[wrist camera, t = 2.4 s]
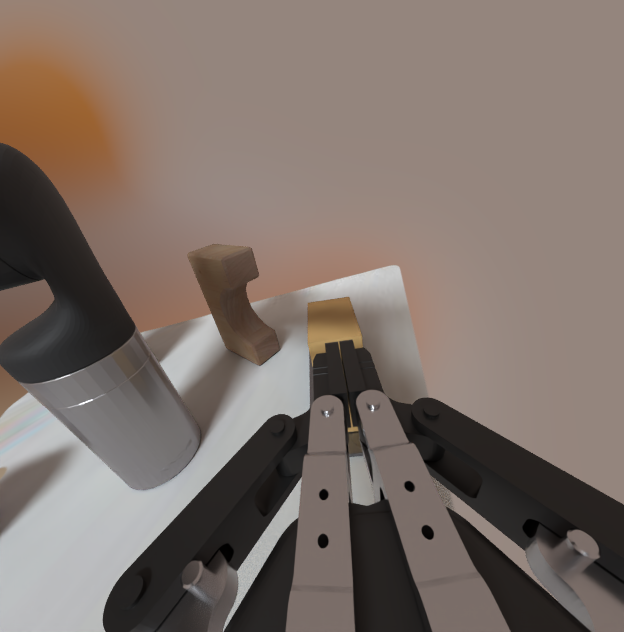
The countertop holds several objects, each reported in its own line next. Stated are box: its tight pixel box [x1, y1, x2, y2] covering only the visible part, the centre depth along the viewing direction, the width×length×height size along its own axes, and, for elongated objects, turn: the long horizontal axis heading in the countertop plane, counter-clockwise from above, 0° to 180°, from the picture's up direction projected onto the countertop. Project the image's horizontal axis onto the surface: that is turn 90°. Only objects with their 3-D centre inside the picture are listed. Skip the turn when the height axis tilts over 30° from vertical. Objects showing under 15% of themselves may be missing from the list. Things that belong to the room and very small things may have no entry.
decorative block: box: [187, 244, 280, 366], centre depth 43 cm, size 11×6×20 cm, turn 50°
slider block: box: [308, 297, 363, 432], centre depth 29 cm, size 8×5×14 cm, turn 1°
